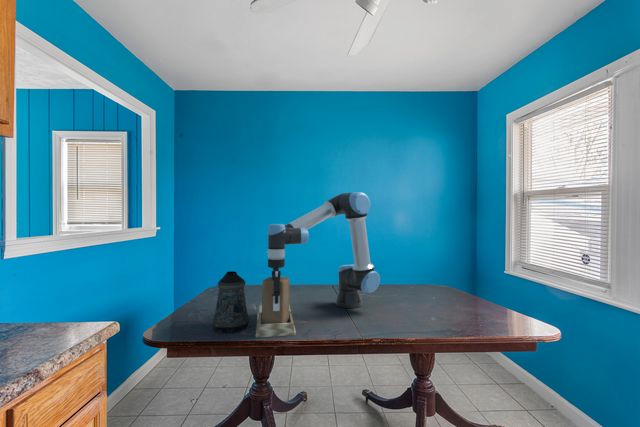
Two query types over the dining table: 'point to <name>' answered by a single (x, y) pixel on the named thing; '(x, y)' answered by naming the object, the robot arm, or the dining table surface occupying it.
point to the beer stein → (231, 305)
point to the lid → (261, 309)
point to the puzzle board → (275, 328)
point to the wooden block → (267, 301)
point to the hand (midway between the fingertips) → (275, 306)
